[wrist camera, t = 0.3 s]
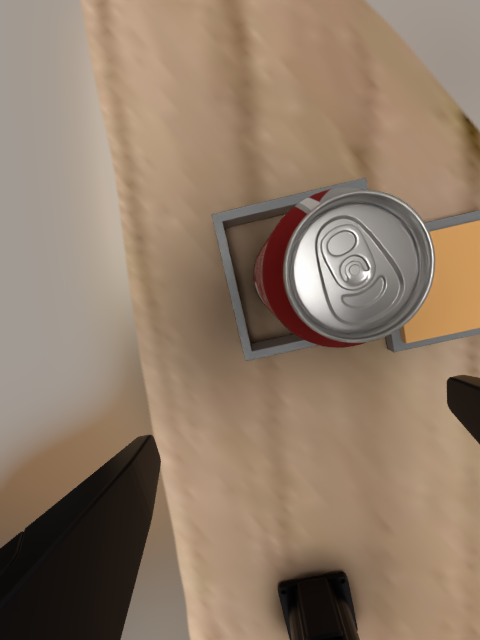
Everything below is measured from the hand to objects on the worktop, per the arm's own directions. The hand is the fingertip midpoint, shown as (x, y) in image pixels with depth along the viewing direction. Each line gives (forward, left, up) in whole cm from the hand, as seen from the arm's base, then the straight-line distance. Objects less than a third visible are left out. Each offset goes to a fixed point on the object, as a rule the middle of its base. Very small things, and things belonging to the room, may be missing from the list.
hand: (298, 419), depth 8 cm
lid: (+1, -14, -14) cm, 20 cm away
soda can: (+4, -3, -15) cm, 15 cm away
